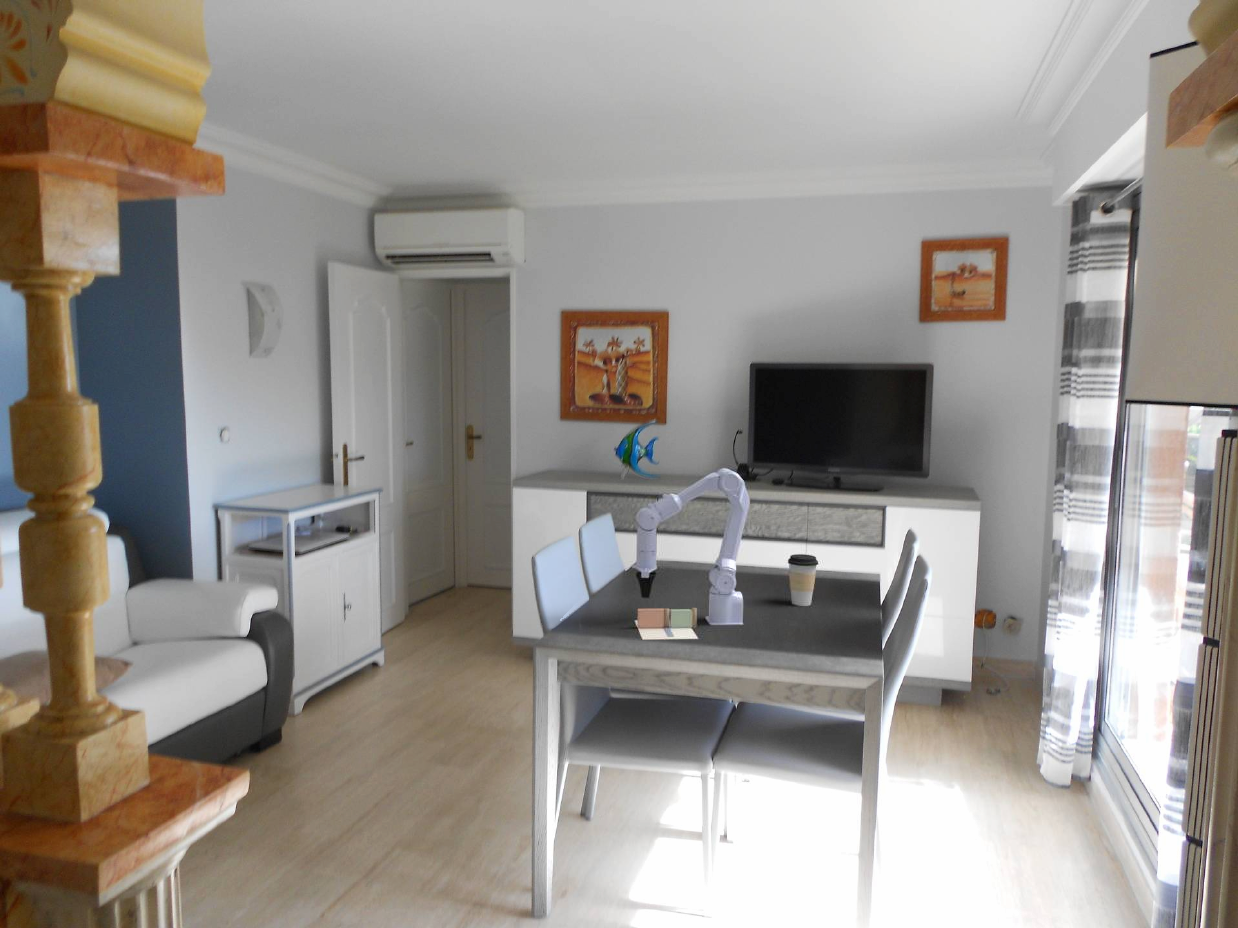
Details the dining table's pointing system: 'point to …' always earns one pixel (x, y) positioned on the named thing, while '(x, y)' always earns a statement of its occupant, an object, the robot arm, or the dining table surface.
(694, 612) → the fence fixed
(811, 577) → the coffee cup
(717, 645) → the dining table surface
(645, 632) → the card
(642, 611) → the fence panel
